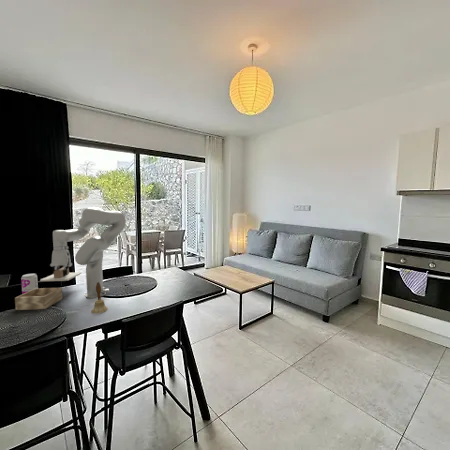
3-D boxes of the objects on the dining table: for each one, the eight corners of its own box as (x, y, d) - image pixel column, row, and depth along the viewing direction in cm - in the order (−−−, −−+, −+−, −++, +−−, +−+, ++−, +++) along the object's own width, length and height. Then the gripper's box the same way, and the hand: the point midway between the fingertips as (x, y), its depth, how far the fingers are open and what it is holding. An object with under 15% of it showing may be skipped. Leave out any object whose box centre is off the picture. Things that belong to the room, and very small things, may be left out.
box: (62, 300, 157) (61, 287, 156) (45, 310, 141) (44, 296, 140) (35, 301, 156) (35, 288, 155) (15, 311, 140) (14, 297, 139)
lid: (81, 273, 177) (81, 266, 177) (67, 280, 161) (67, 272, 160) (56, 274, 177) (56, 266, 176) (40, 281, 160) (39, 272, 159)
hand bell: (110, 310, 139) (108, 282, 138) (94, 315, 133) (92, 285, 132) (104, 306, 145) (103, 279, 144) (89, 310, 139) (87, 282, 138)
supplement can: (29, 300, 158) (28, 276, 157) (19, 299, 159) (17, 276, 158) (41, 295, 165) (40, 273, 165) (31, 295, 167) (29, 273, 166)
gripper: (76, 247, 171) (77, 273, 173) (51, 247, 171) (52, 274, 172) (70, 249, 164) (71, 276, 165) (43, 249, 163) (45, 277, 164)
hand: (61, 275), depth 168 cm, fingers closed on lid, 4 cm apart
